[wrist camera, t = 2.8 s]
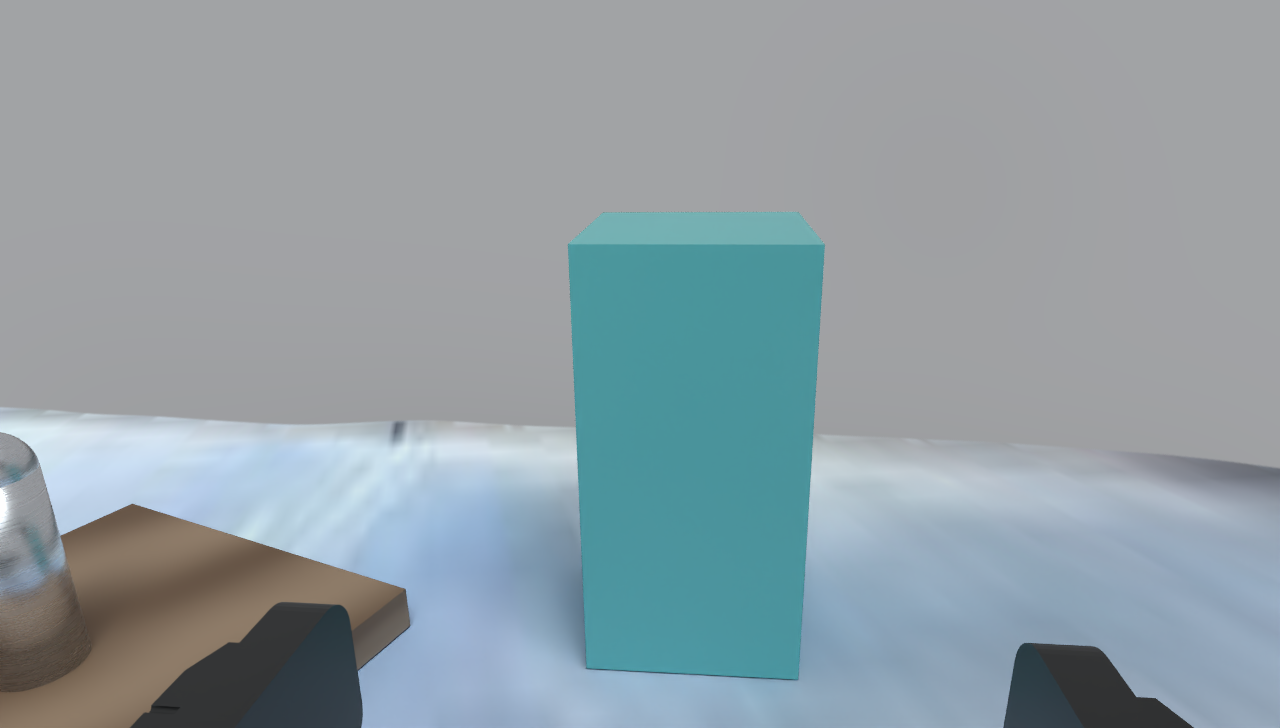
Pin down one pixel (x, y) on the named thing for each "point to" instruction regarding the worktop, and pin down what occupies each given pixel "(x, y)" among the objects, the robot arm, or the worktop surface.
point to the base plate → (181, 612)
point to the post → (34, 580)
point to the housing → (695, 437)
